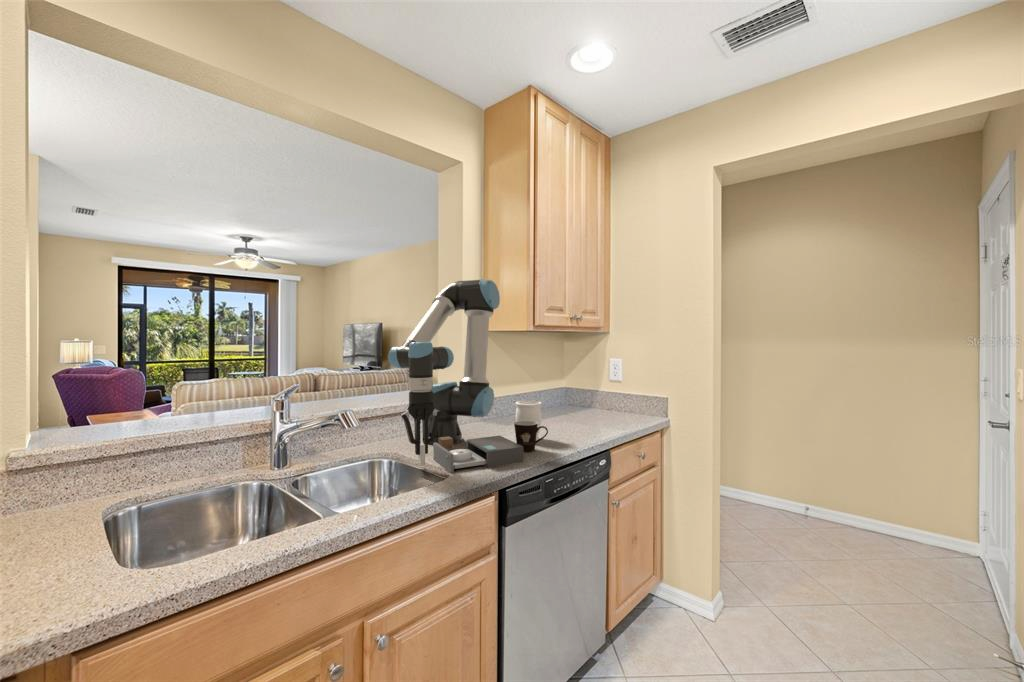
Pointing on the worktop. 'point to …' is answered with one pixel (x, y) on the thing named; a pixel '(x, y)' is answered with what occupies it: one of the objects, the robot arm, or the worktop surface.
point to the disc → (461, 455)
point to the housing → (496, 450)
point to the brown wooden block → (446, 443)
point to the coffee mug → (527, 434)
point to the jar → (529, 412)
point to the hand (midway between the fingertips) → (421, 464)
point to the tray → (448, 462)
